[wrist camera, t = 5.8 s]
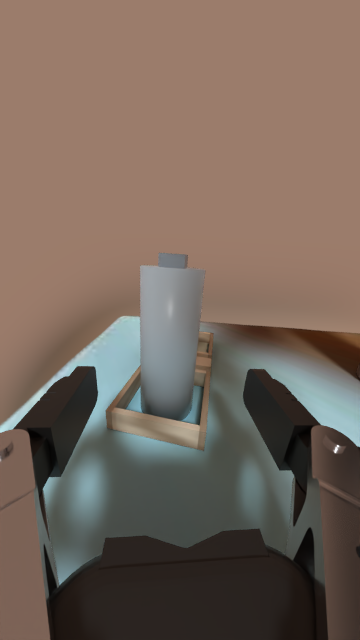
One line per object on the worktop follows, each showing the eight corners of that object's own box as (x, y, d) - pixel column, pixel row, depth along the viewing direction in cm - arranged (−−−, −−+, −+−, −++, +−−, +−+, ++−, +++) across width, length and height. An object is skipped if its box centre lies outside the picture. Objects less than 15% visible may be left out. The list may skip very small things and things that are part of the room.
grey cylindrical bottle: (194, 391, 20) (208, 256, 16) (187, 429, 16) (204, 255, 11) (151, 383, 21) (153, 253, 17) (131, 417, 17) (128, 250, 12)
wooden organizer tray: (212, 342, 33) (213, 333, 32) (203, 450, 14) (206, 432, 14) (168, 336, 34) (168, 327, 34) (107, 427, 15) (105, 410, 15)
